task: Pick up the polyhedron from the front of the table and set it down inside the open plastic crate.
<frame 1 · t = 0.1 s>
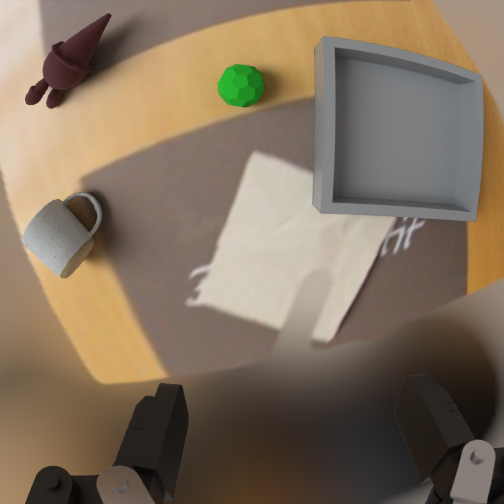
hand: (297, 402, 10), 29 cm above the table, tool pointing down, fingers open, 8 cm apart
crate: (397, 132, 33), on the table
icecream: (83, 65, 31), on the table
polyhedron: (242, 89, 32), on the table
ceramic mug: (77, 223, 38), on the table
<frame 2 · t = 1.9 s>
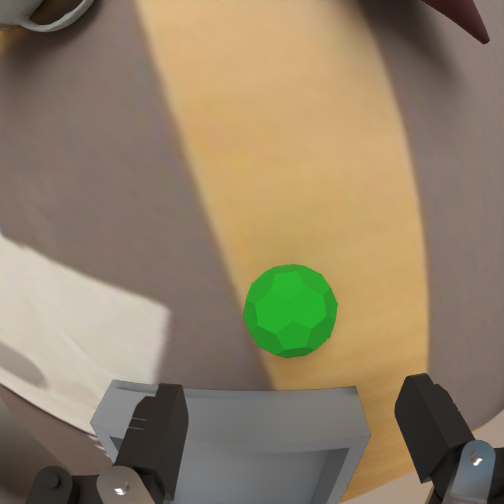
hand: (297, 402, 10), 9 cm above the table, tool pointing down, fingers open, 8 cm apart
crate: (236, 461, 25), on the table
polyhedron: (287, 289, 19), on the table
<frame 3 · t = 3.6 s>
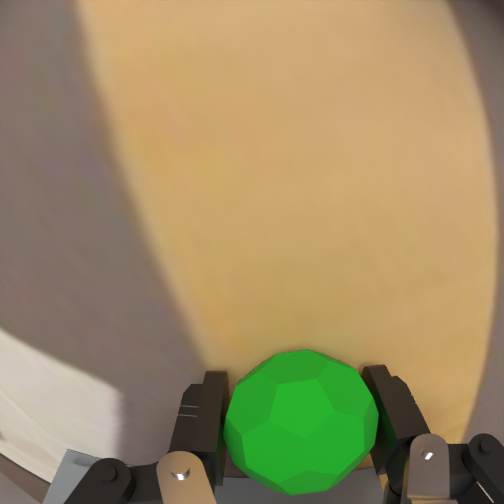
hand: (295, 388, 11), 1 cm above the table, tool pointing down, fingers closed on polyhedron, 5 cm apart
polyhedron: (294, 373, 11), on the table, touching gripper
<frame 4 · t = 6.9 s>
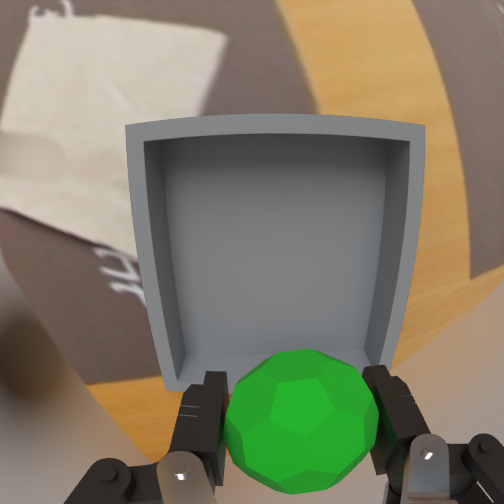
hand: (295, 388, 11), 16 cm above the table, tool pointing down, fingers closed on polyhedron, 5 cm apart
crate: (277, 254, 25), on the table
polyhedron: (294, 372, 11), point 15 cm above the table, touching gripper
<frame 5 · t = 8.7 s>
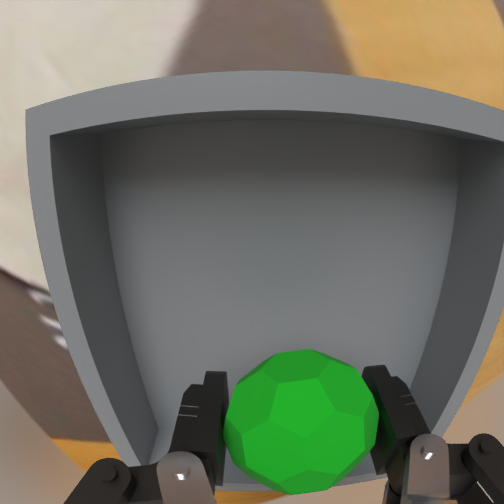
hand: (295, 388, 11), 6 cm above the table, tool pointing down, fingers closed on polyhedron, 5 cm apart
crate: (286, 312, 16), on the table
polyhedron: (294, 372, 11), point 5 cm above the table, touching gripper
when the fingers open (3 cm above the table, at t = 10.2 s): polyhedron drops 1 cm, resting on crate.
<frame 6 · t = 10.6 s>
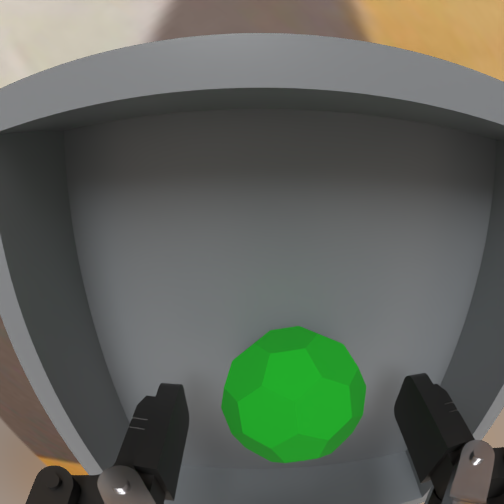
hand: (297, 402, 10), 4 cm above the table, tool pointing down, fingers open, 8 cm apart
crate: (288, 343, 13), on the table
polyhedron: (288, 352, 12), point 1 cm above the table, touching crate
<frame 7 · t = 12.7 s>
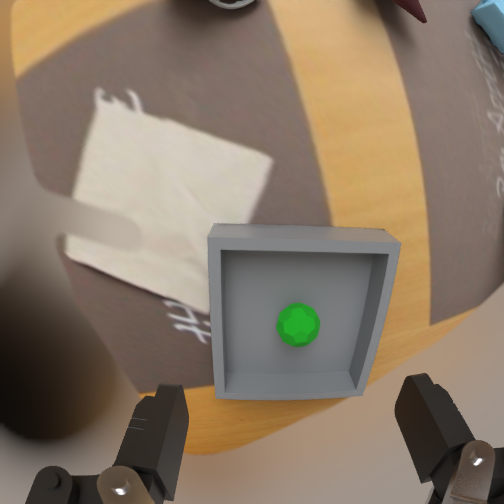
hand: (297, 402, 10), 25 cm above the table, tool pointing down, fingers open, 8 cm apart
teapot: (485, 20, 23), on the table
crate: (295, 310, 37), on the table
polyhedron: (295, 313, 37), point 1 cm above the table, touching crate
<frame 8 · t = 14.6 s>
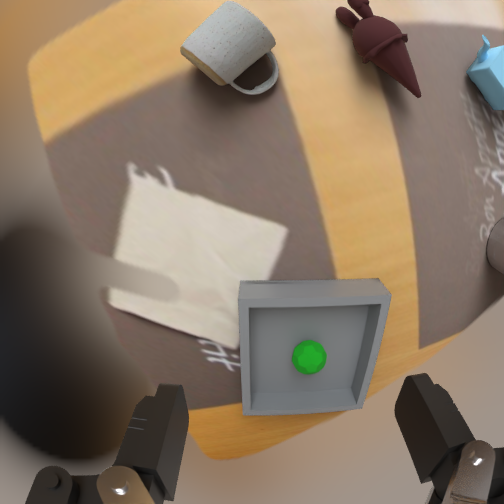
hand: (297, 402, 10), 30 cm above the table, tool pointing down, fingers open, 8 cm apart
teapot: (480, 75, 30), on the table
crate: (306, 343, 45), on the table
icecream: (373, 51, 31), on the table
polyhedron: (306, 346, 44), point 1 cm above the table, touching crate
ceramic mug: (238, 58, 32), on the table
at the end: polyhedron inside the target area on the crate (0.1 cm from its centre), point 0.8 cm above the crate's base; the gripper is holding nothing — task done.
